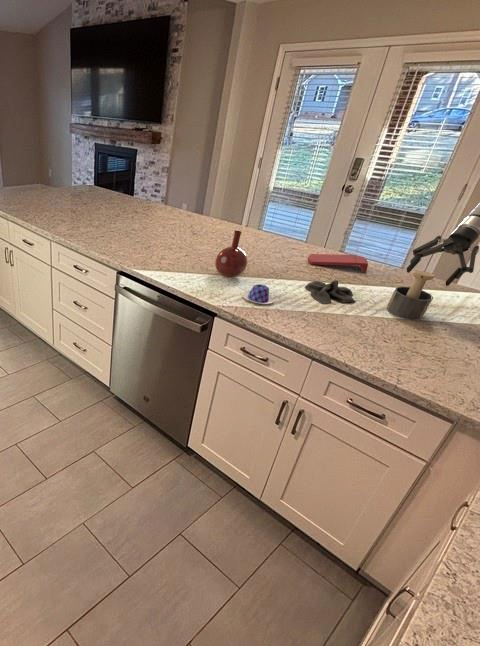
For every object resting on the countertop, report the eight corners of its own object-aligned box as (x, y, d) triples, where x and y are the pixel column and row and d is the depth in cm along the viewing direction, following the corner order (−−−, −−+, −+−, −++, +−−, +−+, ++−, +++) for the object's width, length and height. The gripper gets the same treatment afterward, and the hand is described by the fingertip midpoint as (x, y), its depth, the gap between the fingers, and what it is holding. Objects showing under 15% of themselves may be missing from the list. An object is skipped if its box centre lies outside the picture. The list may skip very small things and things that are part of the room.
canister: (427, 314, 159) (437, 295, 154) (416, 322, 152) (426, 303, 148) (393, 302, 166) (402, 284, 162) (381, 310, 160) (389, 291, 155)
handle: (397, 305, 162) (414, 269, 154) (416, 310, 159) (435, 273, 150) (395, 309, 159) (412, 272, 151) (414, 314, 155) (433, 277, 147)
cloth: (303, 281, 182) (308, 267, 178) (350, 288, 177) (355, 275, 173) (306, 301, 164) (311, 287, 161) (358, 310, 159) (364, 295, 156)
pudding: (245, 290, 171) (248, 278, 168) (275, 296, 167) (279, 284, 164) (240, 301, 162) (243, 288, 159) (272, 308, 158) (275, 295, 155)
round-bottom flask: (232, 269, 190) (242, 226, 179) (249, 281, 179) (261, 235, 168) (207, 272, 186) (215, 228, 175) (223, 284, 175) (233, 237, 165)
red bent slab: (307, 271, 202) (366, 273, 192) (308, 261, 199) (369, 263, 189) (307, 263, 211) (364, 264, 201) (308, 253, 209) (366, 254, 199)
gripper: (507, 248, 145) (464, 295, 147) (431, 229, 163) (393, 270, 165) (509, 235, 140) (464, 284, 141) (431, 217, 158) (391, 260, 159)
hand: (426, 277), depth 153 cm, fingers open, 13 cm apart
